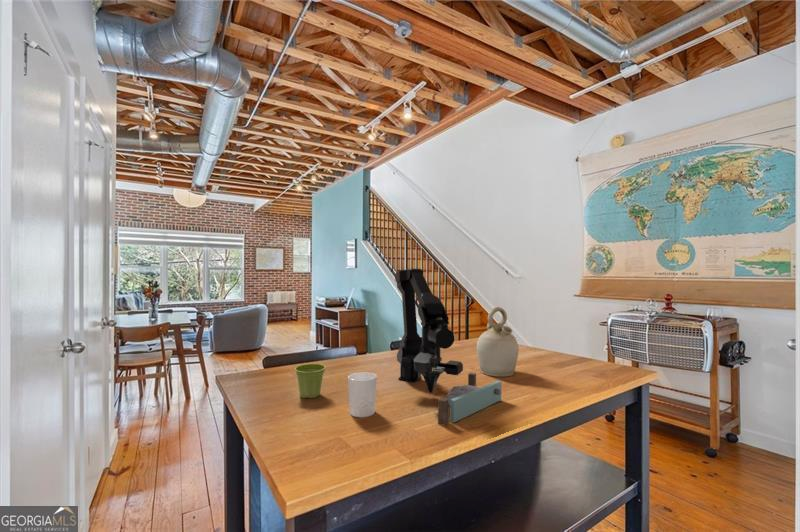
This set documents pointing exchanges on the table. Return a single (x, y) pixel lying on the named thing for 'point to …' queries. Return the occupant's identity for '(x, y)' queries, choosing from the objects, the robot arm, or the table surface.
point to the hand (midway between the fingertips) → (430, 392)
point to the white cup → (362, 393)
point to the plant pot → (310, 379)
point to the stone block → (459, 391)
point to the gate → (474, 401)
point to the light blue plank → (444, 402)
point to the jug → (497, 348)
